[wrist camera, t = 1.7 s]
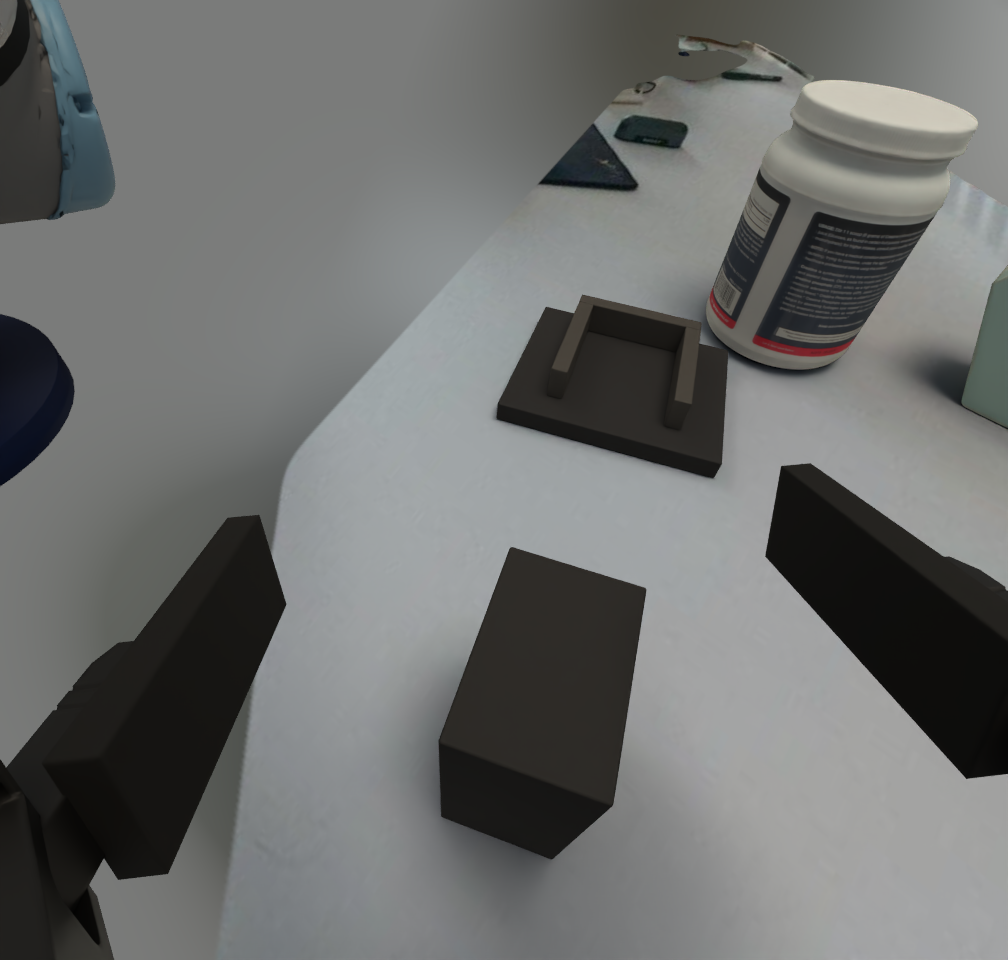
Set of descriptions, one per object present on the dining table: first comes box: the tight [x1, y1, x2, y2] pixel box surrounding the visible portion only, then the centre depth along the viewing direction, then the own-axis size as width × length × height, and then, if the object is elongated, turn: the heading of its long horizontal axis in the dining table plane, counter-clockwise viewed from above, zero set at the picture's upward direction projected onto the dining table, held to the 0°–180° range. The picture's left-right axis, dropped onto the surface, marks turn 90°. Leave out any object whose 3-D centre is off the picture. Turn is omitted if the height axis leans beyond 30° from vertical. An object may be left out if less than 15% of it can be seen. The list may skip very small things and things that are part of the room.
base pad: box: [497, 295, 728, 478], centre depth 42 cm, size 16×14×4 cm
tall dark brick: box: [439, 547, 646, 859], centre depth 21 cm, size 5×7×11 cm
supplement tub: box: [706, 80, 978, 370], centre depth 44 cm, size 13×13×18 cm
